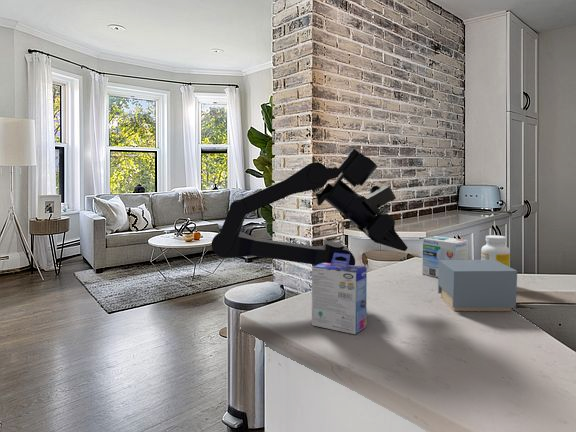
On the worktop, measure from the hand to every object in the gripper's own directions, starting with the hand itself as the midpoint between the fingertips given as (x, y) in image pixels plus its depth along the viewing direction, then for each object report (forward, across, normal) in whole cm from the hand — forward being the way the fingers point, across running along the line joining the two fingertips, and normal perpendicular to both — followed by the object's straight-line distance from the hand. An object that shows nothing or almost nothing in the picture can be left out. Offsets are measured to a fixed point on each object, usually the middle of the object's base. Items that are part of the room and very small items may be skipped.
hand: (400, 245), depth 93 cm
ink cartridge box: (-3, -13, +21) cm, 25 cm away
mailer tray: (+21, -2, 0) cm, 21 cm away
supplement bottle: (+30, +13, -8) cm, 34 cm away
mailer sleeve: (+21, -2, 0) cm, 21 cm away
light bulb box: (+23, +23, -2) cm, 33 cm away
